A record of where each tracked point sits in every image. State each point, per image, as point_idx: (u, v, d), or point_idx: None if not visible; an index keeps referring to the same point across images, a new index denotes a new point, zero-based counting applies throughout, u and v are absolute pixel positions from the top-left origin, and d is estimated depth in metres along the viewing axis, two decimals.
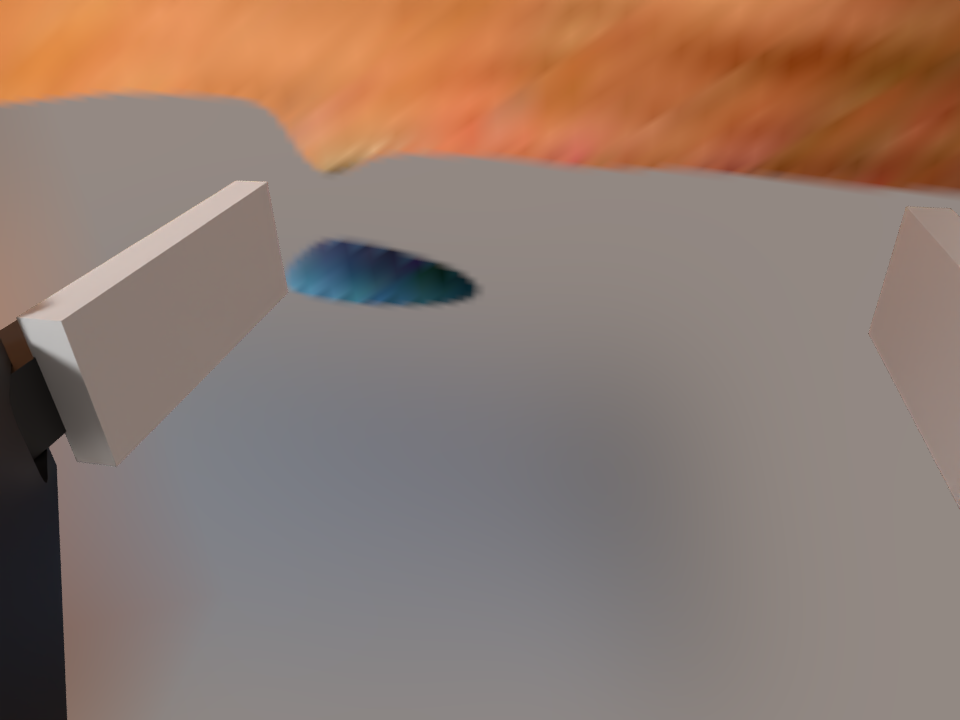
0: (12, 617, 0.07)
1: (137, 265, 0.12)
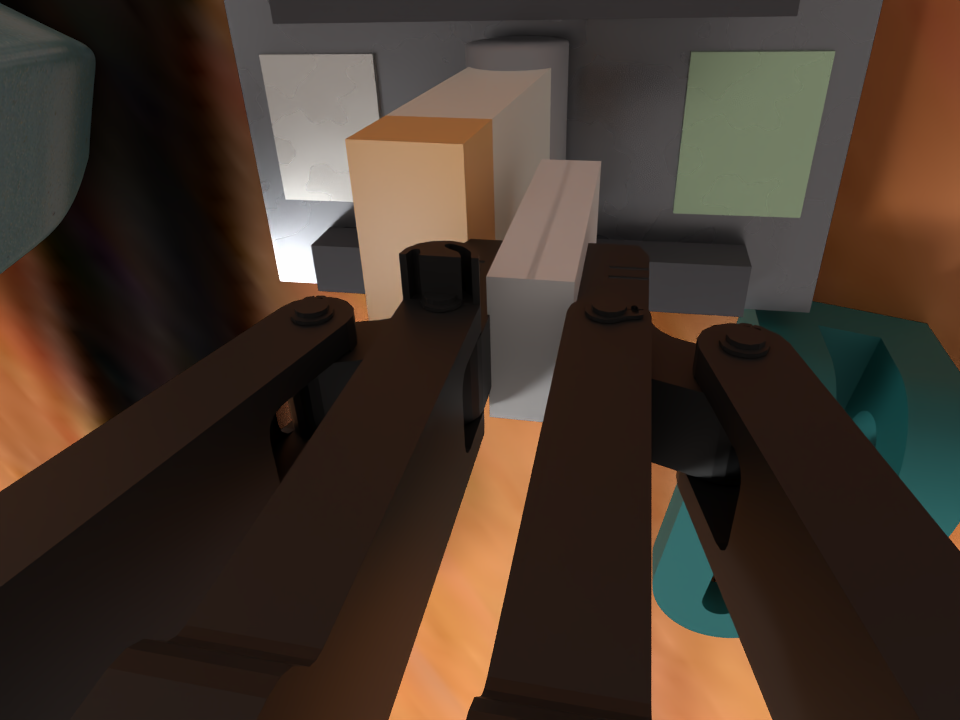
0: (380, 602, 0.07)
1: (544, 232, 0.13)
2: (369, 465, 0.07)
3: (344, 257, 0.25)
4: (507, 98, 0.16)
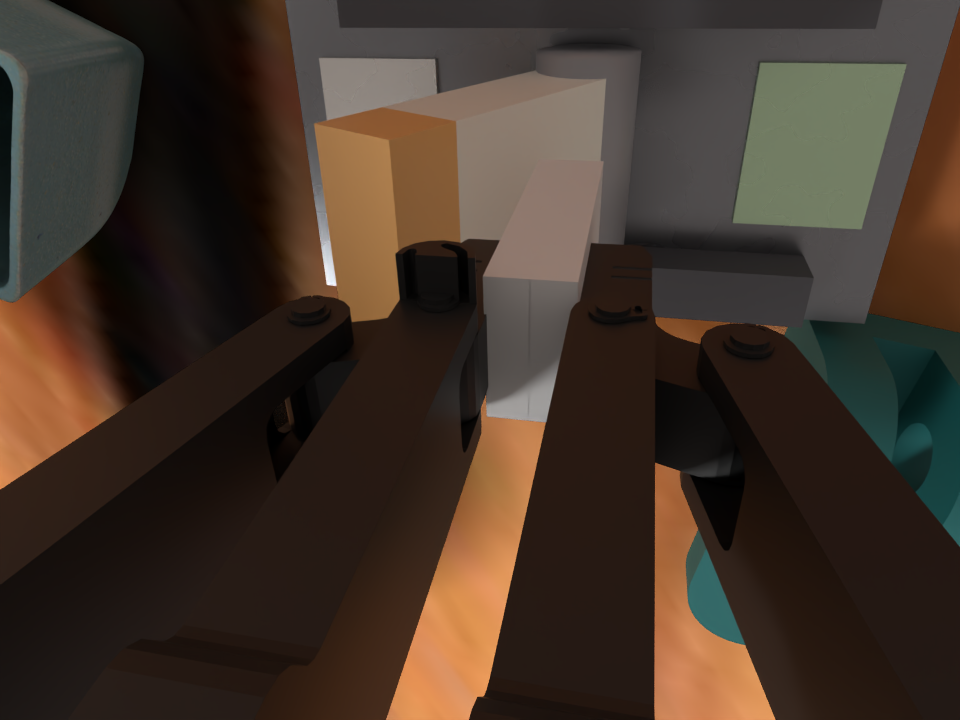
0: (378, 601, 0.07)
1: (540, 232, 0.13)
2: (366, 465, 0.07)
3: None
4: (506, 103, 0.17)
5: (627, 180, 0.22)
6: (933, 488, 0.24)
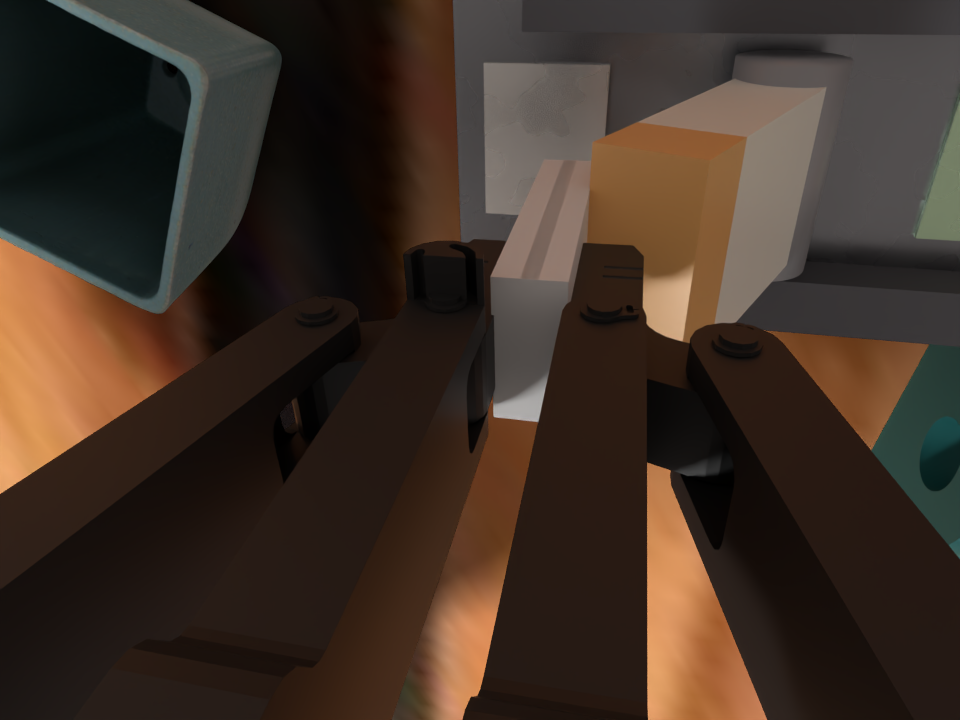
0: (383, 603, 0.07)
1: (547, 232, 0.12)
2: (372, 465, 0.07)
3: None
4: (769, 116, 0.16)
5: None
6: None
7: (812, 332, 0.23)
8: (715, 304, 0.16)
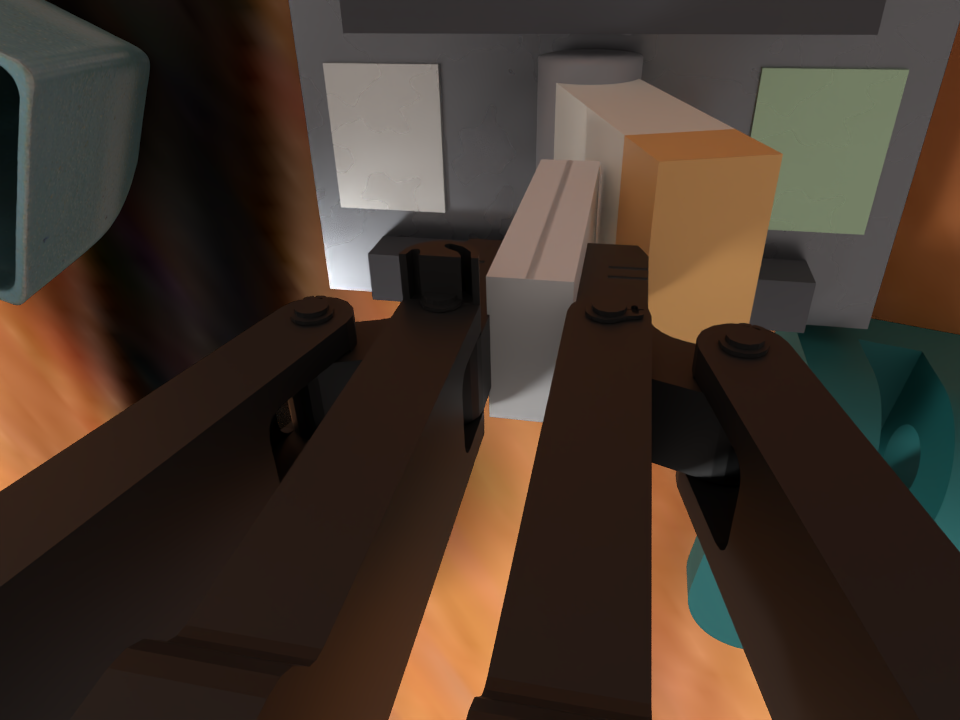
0: (380, 602, 0.07)
1: (543, 232, 0.13)
2: (368, 465, 0.07)
3: None
4: (689, 109, 0.17)
5: None
6: (921, 490, 0.24)
7: None
8: None
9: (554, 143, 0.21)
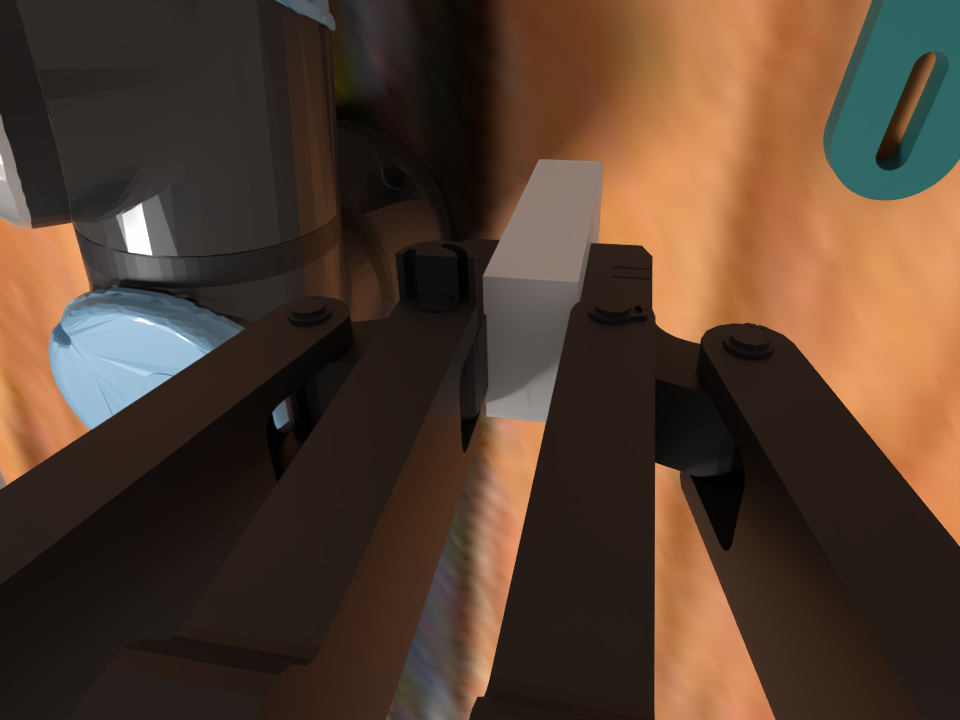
0: (377, 601, 0.07)
1: (540, 232, 0.13)
2: (365, 465, 0.07)
3: None
4: None
5: None
6: None
7: None
8: None
9: None
